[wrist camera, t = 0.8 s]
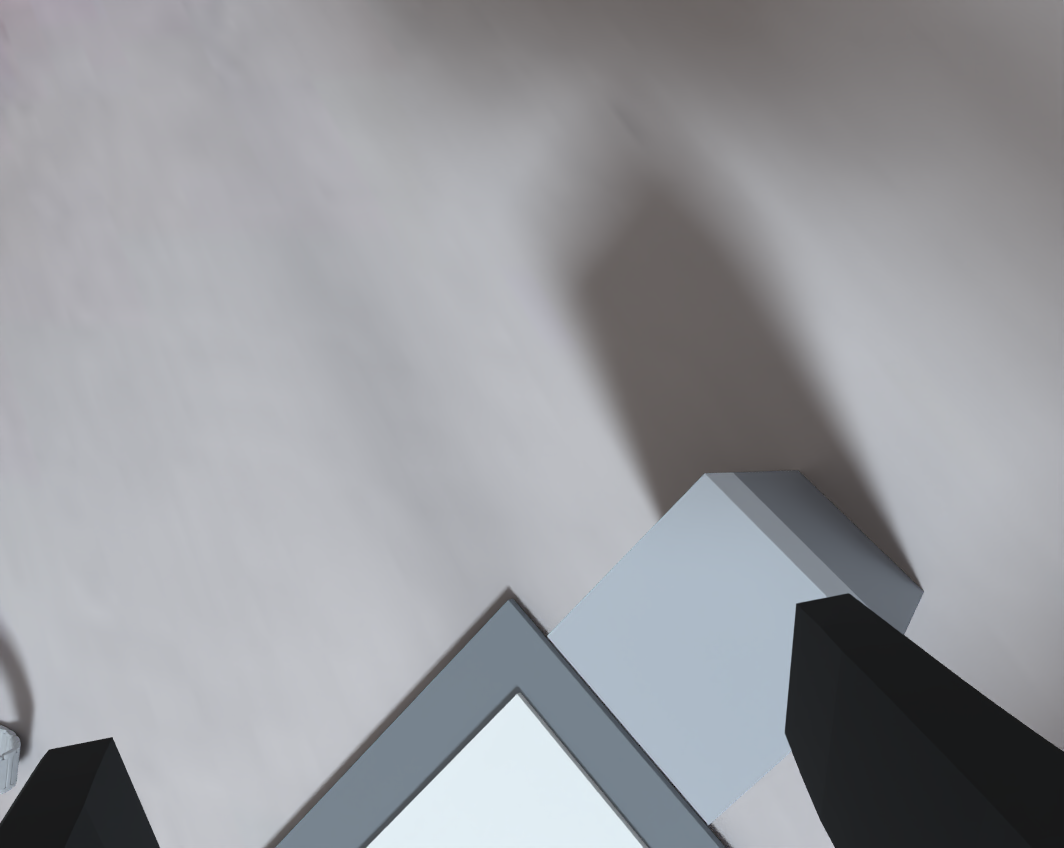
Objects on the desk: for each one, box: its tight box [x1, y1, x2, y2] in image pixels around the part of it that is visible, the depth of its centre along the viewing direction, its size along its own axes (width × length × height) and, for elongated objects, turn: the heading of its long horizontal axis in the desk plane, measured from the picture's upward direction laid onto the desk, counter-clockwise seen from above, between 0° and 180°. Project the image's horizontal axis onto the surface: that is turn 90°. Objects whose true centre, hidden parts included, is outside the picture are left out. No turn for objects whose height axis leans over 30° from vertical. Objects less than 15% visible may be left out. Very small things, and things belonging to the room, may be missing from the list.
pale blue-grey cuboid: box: [547, 470, 924, 825], centre depth 20 cm, size 4×4×9 cm
